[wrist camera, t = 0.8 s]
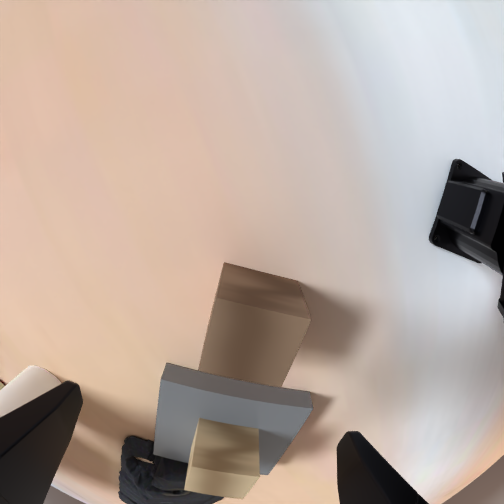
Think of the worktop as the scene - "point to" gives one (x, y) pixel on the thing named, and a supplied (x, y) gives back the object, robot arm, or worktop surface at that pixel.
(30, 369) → the foam cup
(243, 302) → the walnut block
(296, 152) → the worktop surface
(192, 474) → the oak block
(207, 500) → the dark slate chunk
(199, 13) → the worktop surface
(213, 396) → the base
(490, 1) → the worktop surface
